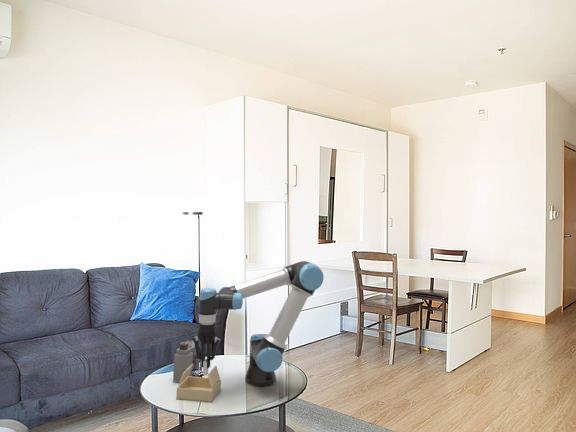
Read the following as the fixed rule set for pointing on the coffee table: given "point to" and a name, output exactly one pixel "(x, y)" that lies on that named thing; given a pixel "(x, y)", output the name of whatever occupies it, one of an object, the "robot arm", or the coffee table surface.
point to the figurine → (195, 359)
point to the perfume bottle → (182, 362)
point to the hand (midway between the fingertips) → (205, 374)
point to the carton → (198, 389)
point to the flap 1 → (185, 374)
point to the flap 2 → (213, 376)
